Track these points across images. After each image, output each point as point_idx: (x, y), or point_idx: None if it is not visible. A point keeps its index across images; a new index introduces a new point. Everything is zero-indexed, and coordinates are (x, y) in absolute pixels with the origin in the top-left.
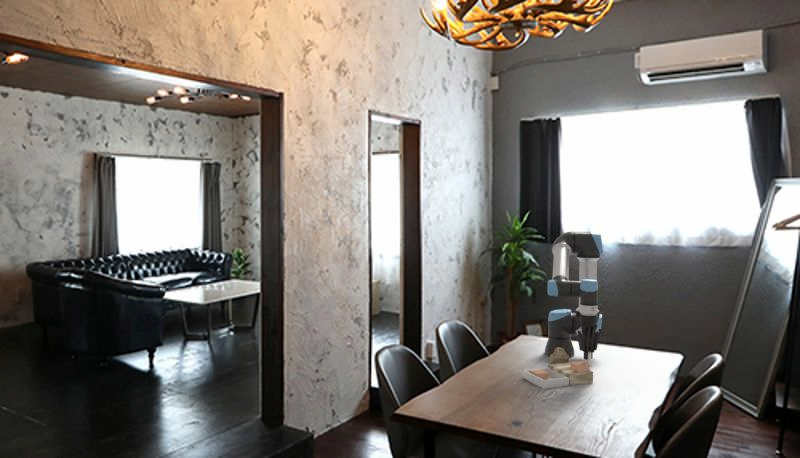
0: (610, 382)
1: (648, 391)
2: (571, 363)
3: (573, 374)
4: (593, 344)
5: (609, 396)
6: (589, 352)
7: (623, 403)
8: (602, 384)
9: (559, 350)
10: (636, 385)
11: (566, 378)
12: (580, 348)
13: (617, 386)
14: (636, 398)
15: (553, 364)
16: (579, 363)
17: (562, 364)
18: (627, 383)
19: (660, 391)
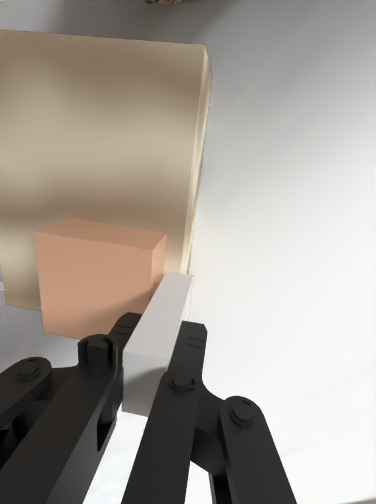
0: (273, 336)
1: (309, 474)
2: (39, 248)
3: (32, 306)
4: (256, 500)
5: (120, 430)
6: (142, 406)
7: (116, 480)
8: (209, 336)
9: None
10: (345, 418)
11: (2, 288)
12: (5, 390)
13: (249, 385)
14: (194, 482)
15: (2, 43)
16: (86, 296)
17: (78, 82)
18: (337, 384)
19: (353, 496)
